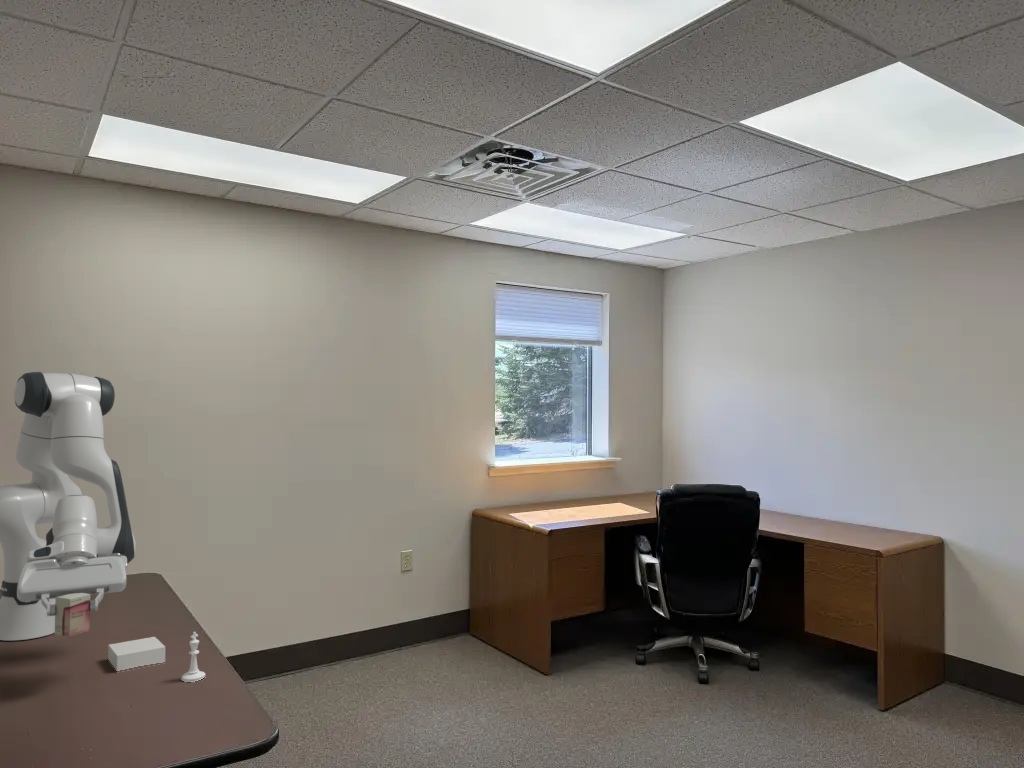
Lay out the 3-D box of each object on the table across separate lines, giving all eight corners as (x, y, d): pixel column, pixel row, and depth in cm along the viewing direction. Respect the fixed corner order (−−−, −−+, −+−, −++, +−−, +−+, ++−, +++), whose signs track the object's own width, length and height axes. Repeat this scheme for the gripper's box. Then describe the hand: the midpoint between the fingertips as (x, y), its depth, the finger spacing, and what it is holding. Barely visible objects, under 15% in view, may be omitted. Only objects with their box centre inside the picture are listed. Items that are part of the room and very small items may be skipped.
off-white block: (108, 662, 172) (108, 644, 172) (154, 653, 178) (154, 636, 178) (116, 674, 164) (117, 655, 164) (165, 664, 170) (165, 647, 170)
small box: (68, 637, 152) (69, 599, 152) (53, 635, 153) (54, 597, 153) (90, 630, 156) (91, 593, 157) (75, 628, 158) (76, 591, 158)
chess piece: (210, 676, 162) (211, 630, 162) (194, 683, 158) (195, 636, 158) (192, 673, 164) (193, 627, 164) (175, 681, 159) (176, 634, 159)
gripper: (126, 560, 170) (127, 613, 161) (20, 569, 160) (15, 626, 151) (127, 544, 166) (129, 597, 158) (19, 552, 156) (14, 610, 147)
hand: (72, 612), depth 154 cm, fingers closed on small box, 6 cm apart
